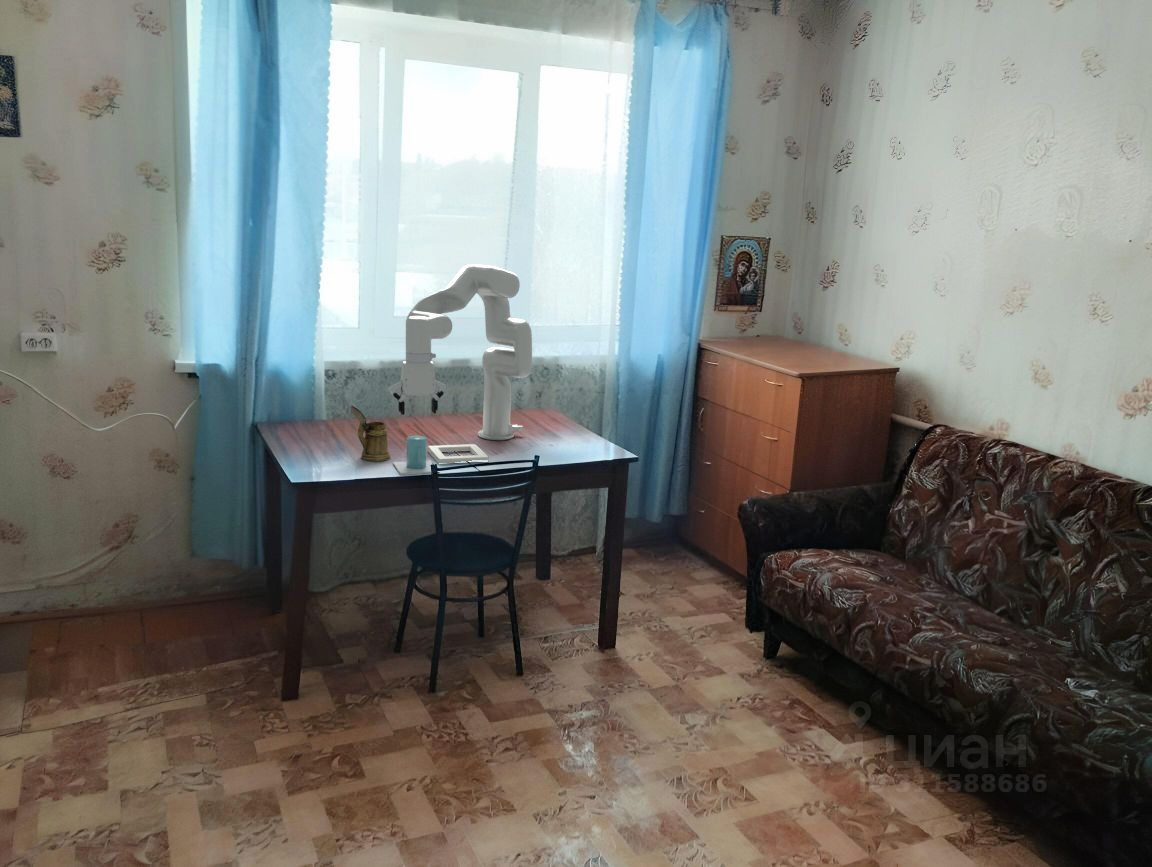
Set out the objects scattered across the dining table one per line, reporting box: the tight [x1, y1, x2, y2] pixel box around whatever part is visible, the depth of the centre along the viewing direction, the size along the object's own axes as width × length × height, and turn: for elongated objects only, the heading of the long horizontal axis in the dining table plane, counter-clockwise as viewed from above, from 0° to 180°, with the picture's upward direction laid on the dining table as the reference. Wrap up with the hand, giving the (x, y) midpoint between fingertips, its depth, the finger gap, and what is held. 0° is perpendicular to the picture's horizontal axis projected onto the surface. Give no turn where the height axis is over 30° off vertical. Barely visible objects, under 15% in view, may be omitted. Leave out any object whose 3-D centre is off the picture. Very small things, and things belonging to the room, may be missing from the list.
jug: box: [405, 435, 428, 469], centre depth 301 cm, size 8×6×9 cm
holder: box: [427, 443, 489, 464], centre depth 319 cm, size 16×16×2 cm
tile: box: [392, 459, 434, 476], centre depth 303 cm, size 12×12×1 cm
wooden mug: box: [350, 405, 391, 462], centre depth 309 cm, size 9×14×18 cm, turn 134°
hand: (418, 413), depth 300 cm, fingers open, 9 cm apart
